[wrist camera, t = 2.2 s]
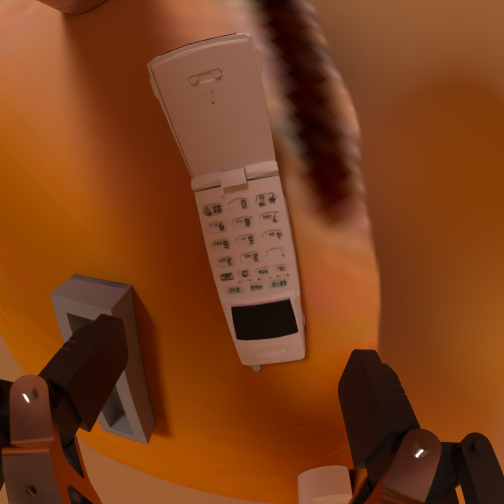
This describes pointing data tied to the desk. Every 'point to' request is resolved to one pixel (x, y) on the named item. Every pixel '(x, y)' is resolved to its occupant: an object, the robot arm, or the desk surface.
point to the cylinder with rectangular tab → (325, 485)
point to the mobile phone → (236, 190)
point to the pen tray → (133, 377)
